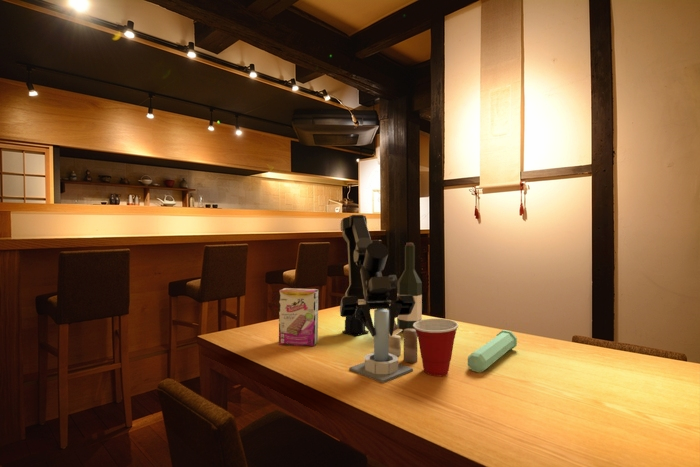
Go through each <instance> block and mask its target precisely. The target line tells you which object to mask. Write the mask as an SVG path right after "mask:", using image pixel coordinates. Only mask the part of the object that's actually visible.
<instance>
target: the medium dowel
mask: <svg viewBox="0 0 700 467" xmlns="http://www.w3.org/2000/svg"><path fill="white" fill-rule="evenodd" d="M403 362H405V363H408V364H415V363H417V362H418V337H417V333H416V330H415V329H404V333H403Z"/></svg>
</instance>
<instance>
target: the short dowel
mask: <svg viewBox="0 0 700 467" xmlns="http://www.w3.org/2000/svg"><path fill="white" fill-rule="evenodd" d="M401 339H402V336H401V335H399V334H398V335H392V336H390V335H389V353H390V354H393V355H396V356H397V358H398V357H401V352H402V351H401V350H402V349H401V348H402V341H401Z"/></svg>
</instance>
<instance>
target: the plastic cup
mask: <svg viewBox="0 0 700 467" xmlns="http://www.w3.org/2000/svg"><path fill="white" fill-rule="evenodd" d="M413 327H414V328H415V330H416V333H417V341H418V346H419V352H420V356H421V361H422V362H421V363H422V368H423V372H424V373H425V374H427V375H430V376H433V377H434V376H435V377H443V376H446V375H448V374H449V371H450V365H451V360H452V357H453V356H452V355H453V349H454V342H455V338H456V334H457V329H459V323H458V322H457V321H455V320H452V319H447V318H425V319H422V320H420V321H417V322H415V323H414V324H413Z"/></svg>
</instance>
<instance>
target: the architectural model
mask: <svg viewBox="0 0 700 467" xmlns="http://www.w3.org/2000/svg"><path fill="white" fill-rule="evenodd" d="M401 331H402V329H398V325H397V321H396V320H395V321H394V328H393V334H392V335H398V336H399V334H400V333H402V332H401ZM389 335H390V333H389Z"/></svg>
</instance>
